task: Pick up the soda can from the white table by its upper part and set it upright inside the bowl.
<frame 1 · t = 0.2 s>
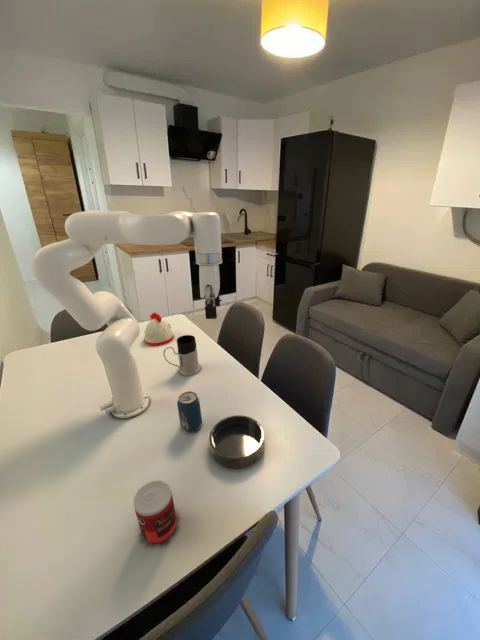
hand: (213, 311, 91), 37 cm above the table, tool pointing down, fingers open, 9 cm apart
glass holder: (183, 371, 125), on the table
soda can: (191, 426, 97), on the table
kitchen timer: (159, 339, 151), on the table
bowl: (237, 445, 89), on the table
canned food: (160, 527, 68), on the table
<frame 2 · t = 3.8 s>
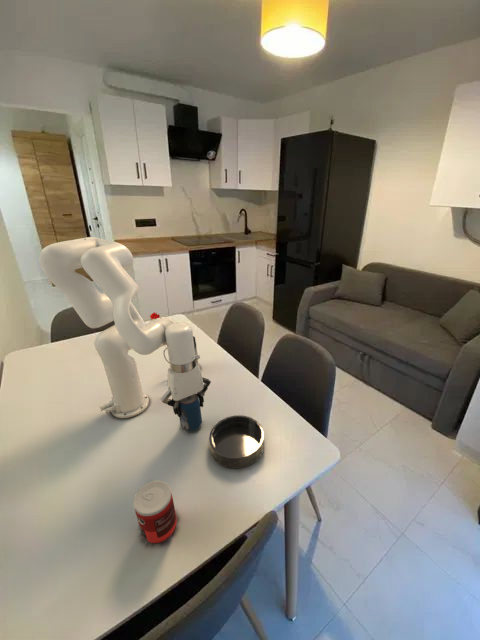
hand: (189, 409, 94), 7 cm above the table, tool pointing down, fingers closed on soda can, 7 cm apart
soda can: (191, 426, 97), on the table, touching gripper
everything else where it was.
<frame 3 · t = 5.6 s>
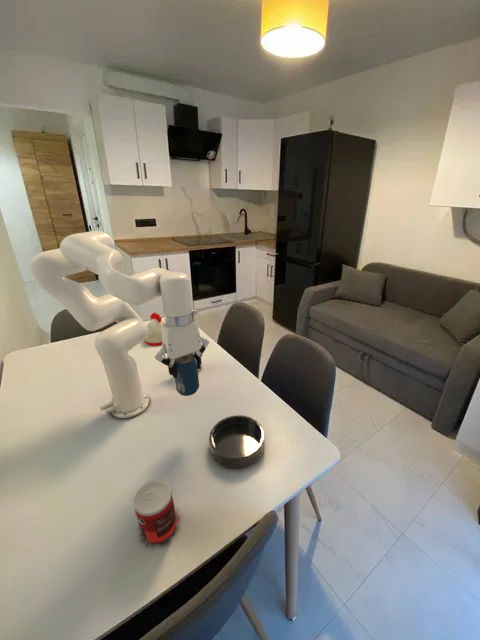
hand: (185, 370, 87), 22 cm above the table, tool pointing down, fingers closed on soda can, 7 cm apart
soda can: (188, 390, 90), point 15 cm above the table, touching gripper
everything else where it was.
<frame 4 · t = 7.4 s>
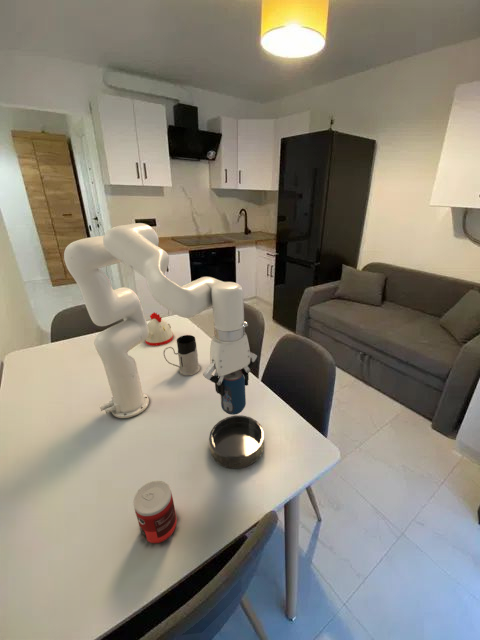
hand: (232, 387, 80), 22 cm above the table, tool pointing down, fingers closed on soda can, 7 cm apart
soda can: (233, 408, 83), point 15 cm above the table, touching gripper
everything else where it was.
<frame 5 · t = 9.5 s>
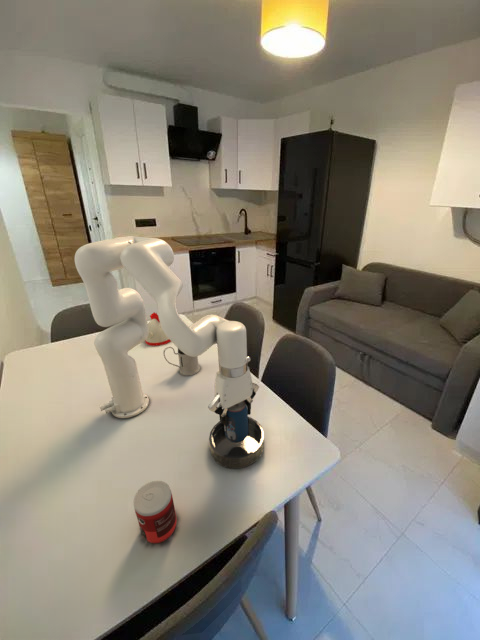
hand: (235, 417, 84), 12 cm above the table, tool pointing down, fingers closed on soda can, 7 cm apart
soda can: (236, 435, 87), point 4 cm above the table, touching gripper
everything else where it was.
when the fingers open (8 cm above the table, at t = 11.1 s): soda can stays where it is, resting on bowl.
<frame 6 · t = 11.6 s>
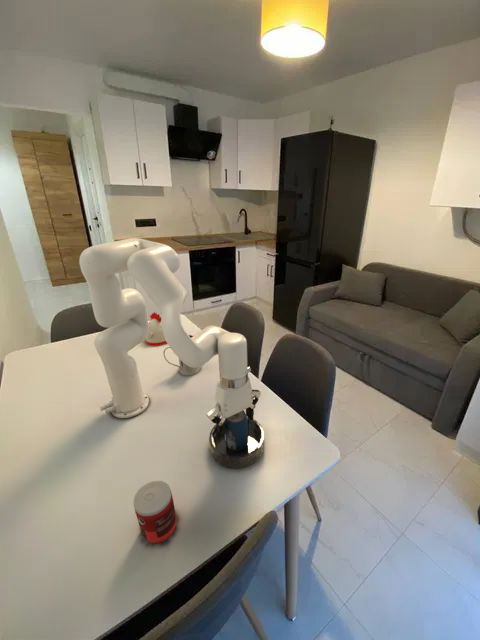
hand: (236, 424, 86), 9 cm above the table, tool pointing down, fingers open, 9 cm apart
soda can: (237, 444, 89), resting on bowl
everything else where it was.
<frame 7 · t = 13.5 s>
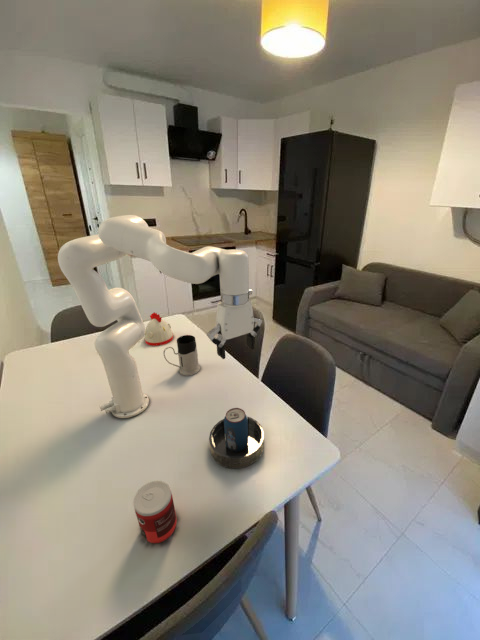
hand: (236, 351, 85), 29 cm above the table, tool pointing down, fingers open, 9 cm apart
nothing on the table moved.
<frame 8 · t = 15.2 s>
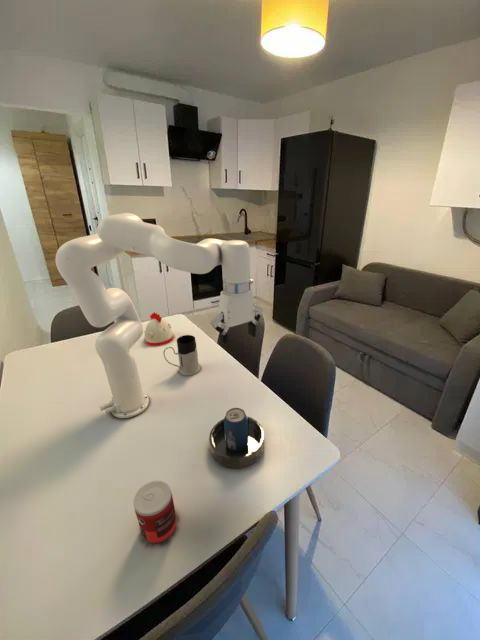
hand: (238, 339, 88), 30 cm above the table, tool pointing down, fingers open, 9 cm apart
nothing on the table moved.
at the end: soda can inside the target area in the bowl (0.1 cm from its centre), point 0.3 cm above the bowl's base; soda can tilted 0°; the gripper is holding nothing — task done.
